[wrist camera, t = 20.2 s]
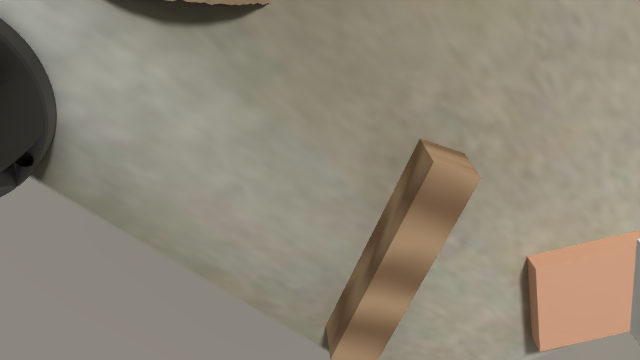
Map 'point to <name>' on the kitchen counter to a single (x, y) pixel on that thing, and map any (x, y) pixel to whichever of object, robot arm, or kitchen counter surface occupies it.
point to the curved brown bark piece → (230, 1)
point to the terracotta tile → (582, 291)
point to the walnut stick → (401, 250)
